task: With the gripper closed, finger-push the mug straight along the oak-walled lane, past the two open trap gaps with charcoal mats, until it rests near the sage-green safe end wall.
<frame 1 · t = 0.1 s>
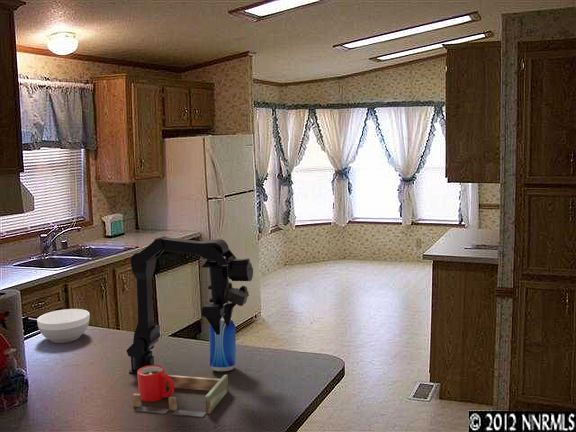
hand: (223, 330, 187), 15 cm above the countertop, fingers open, 8 cm apart
beer can: (222, 369, 194), on the countertop, touching gripper
trap box: (182, 398, 174), on the countertop
mug: (158, 397, 176), on the countertop
bowl: (65, 338, 230), on the countertop
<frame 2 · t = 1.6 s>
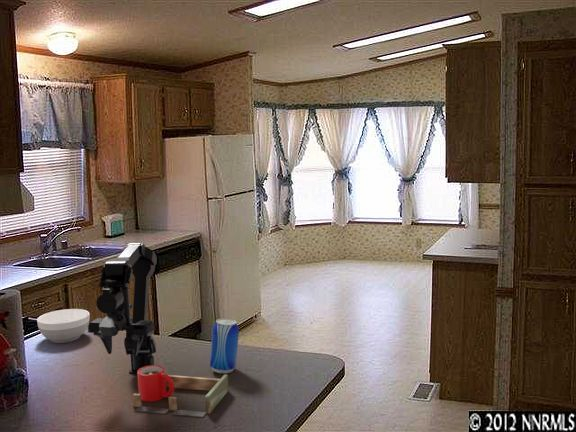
hand: (122, 354, 177), 12 cm above the countertop, fingers open, 8 cm apart
beer can: (222, 369, 194), on the countertop
everything else where it was.
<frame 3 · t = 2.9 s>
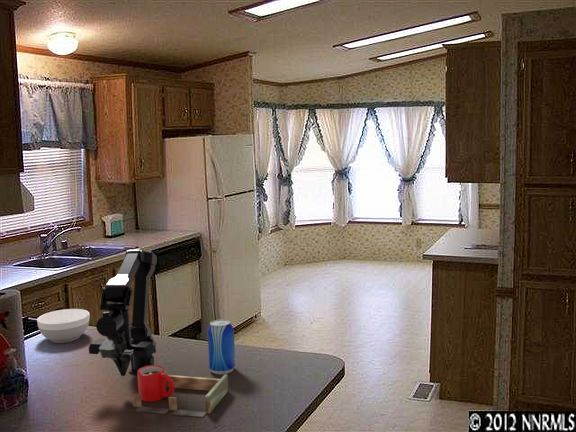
hand: (123, 375, 178), 6 cm above the countertop, fingers closed
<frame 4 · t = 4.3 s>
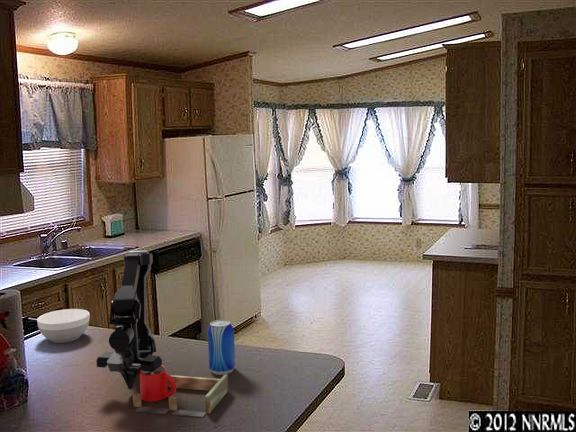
hand: (130, 389, 178), 2 cm above the countertop, fingers closed
mug: (160, 397, 176), on the countertop, touching gripper
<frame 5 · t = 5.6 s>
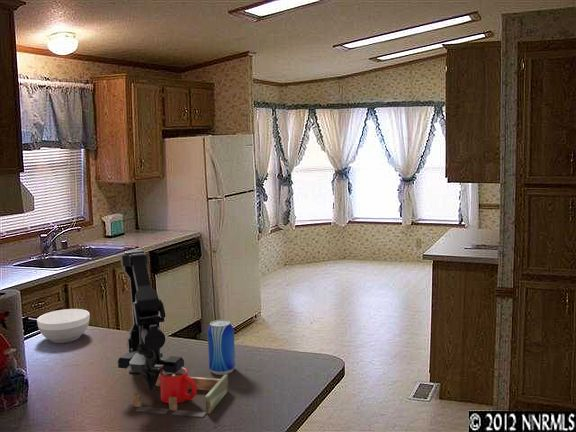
hand: (152, 390, 176), 2 cm above the countertop, fingers closed
mug: (180, 399, 174), on the countertop, touching gripper
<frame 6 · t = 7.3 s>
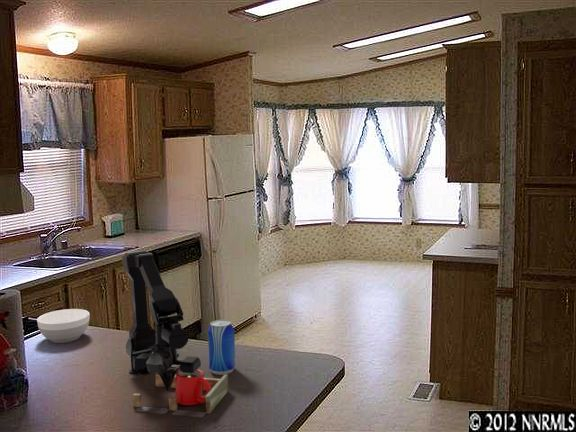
hand: (168, 390, 174), 2 cm above the countertop, fingers closed
mug: (194, 402, 172), on the countertop, touching gripper, trap box
everything else where it was.
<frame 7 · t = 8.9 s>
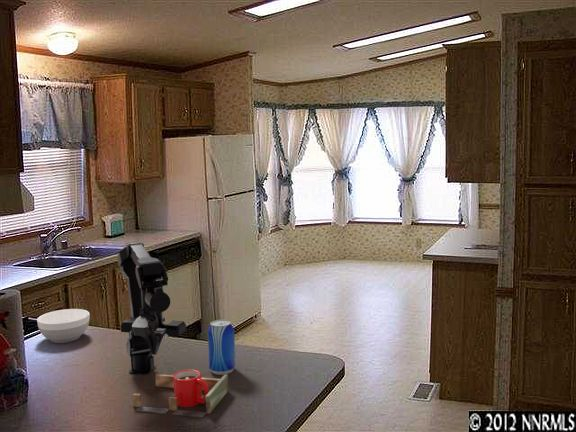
hand: (154, 354, 177), 12 cm above the countertop, fingers closed
mug: (194, 403, 172), on the countertop
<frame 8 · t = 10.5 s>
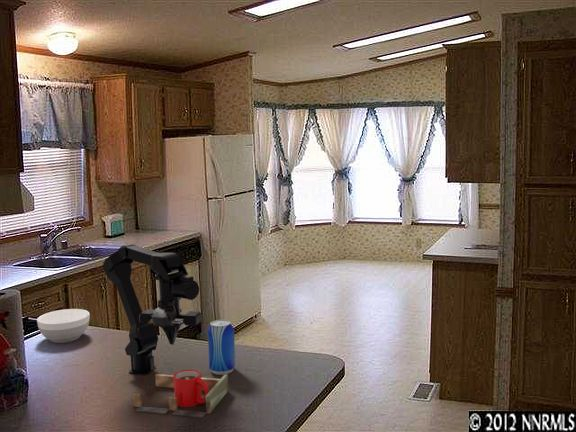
hand: (172, 344, 185), 12 cm above the countertop, fingers closed
at the end: mug inside the target area (1.7 cm from its centre), on the countertop; mug tilted 0° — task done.
